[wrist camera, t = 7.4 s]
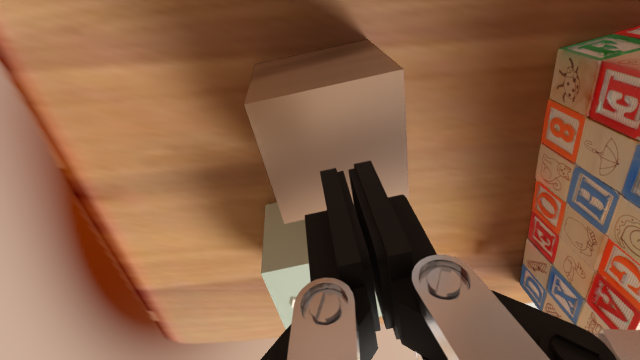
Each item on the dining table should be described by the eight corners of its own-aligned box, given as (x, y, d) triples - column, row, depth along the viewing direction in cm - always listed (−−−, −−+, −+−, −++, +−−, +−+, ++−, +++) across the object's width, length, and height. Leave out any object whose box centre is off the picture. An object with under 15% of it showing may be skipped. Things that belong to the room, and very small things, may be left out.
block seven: (265, 204, 22) (260, 275, 17) (351, 185, 22) (373, 252, 17) (286, 263, 25) (288, 337, 20) (361, 247, 25) (382, 318, 20)
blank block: (254, 64, 17) (244, 104, 12) (367, 39, 17) (403, 69, 12) (283, 160, 20) (284, 223, 15) (377, 140, 20) (408, 197, 15)
